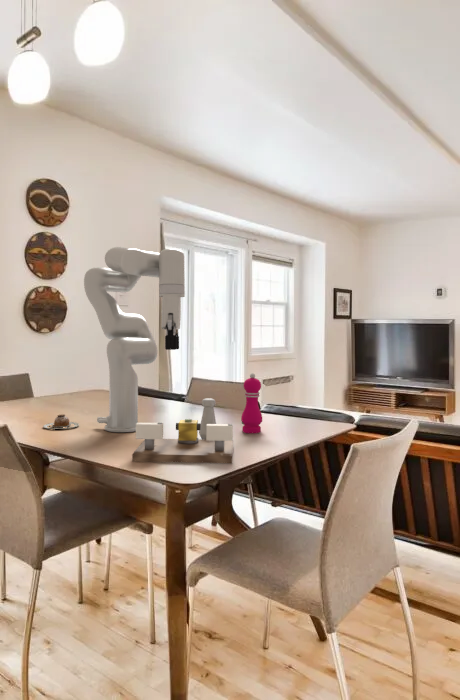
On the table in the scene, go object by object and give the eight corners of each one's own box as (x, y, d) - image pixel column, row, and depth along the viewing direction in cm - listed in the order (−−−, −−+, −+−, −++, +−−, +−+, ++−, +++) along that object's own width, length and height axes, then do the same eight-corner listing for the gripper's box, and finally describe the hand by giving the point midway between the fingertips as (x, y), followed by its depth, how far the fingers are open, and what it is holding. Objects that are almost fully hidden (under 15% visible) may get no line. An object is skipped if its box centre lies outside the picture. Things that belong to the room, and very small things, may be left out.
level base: (132, 461, 131) (132, 428, 131) (145, 445, 150) (146, 416, 149) (231, 463, 130) (232, 430, 130) (233, 446, 149) (233, 418, 149)
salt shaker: (210, 442, 154) (210, 400, 153) (195, 440, 157) (195, 398, 156) (220, 439, 159) (221, 398, 158) (205, 437, 162) (206, 397, 161)
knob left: (135, 449, 135) (135, 423, 135) (137, 447, 138) (137, 421, 137) (161, 449, 135) (161, 424, 134) (163, 447, 137) (163, 422, 137)
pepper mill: (260, 434, 167) (261, 374, 167) (239, 433, 169) (240, 373, 168) (263, 430, 174) (264, 372, 174) (243, 429, 176) (243, 372, 175)
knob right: (206, 450, 135) (206, 424, 134) (206, 448, 137) (207, 423, 137) (232, 451, 134) (232, 425, 134) (232, 449, 137) (232, 423, 137)
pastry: (84, 425, 180) (84, 412, 180) (70, 432, 168) (70, 418, 168) (52, 424, 181) (52, 411, 181) (36, 431, 169) (36, 417, 169)
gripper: (162, 294, 157) (162, 349, 158) (155, 288, 140) (156, 350, 140) (186, 294, 158) (186, 349, 158) (182, 288, 140) (183, 349, 141)
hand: (172, 349), depth 149 cm, fingers open, 9 cm apart
